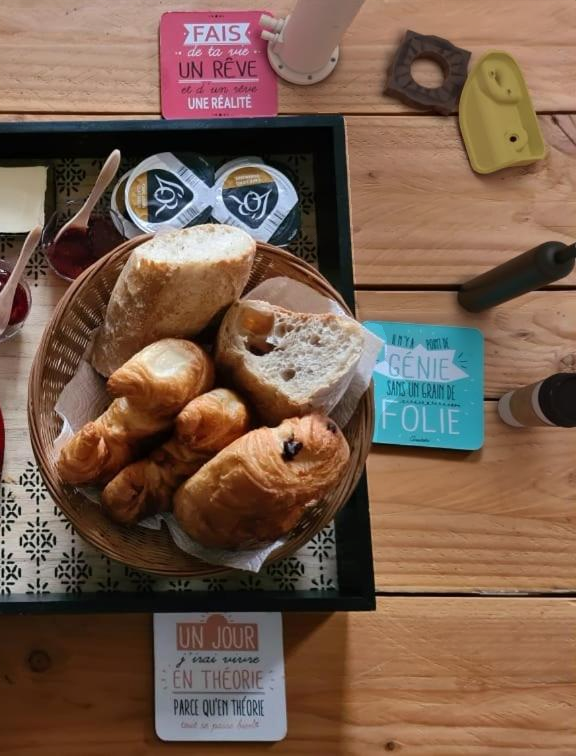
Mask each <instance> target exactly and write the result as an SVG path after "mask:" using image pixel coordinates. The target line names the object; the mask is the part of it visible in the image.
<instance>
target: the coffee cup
mask: <svg viewBox="0 0 576 756" xmlns="http://www.w3.org/2000/svg"><path fill="white" fill-rule="evenodd" d="M497 411H498V414H499V417H500V419H501V420H502V421H503V422H504V423H506V424H507V425H509V426H511V427H519V428H521V427H522V428H523V427H531V428H564V429H572V428H576V372H569V371H568V372H567V371H565V372H557V373H554V374H551V375H550V376H548V377H545V378H543V379H541V380H538V381H536V382H535V381H534V382H533V383H530V384H527V385H525V386H522V387H520V388H517V389H514V390H512V391H509V392H506V393H505V394H503V395H502V396H501V397H500V399H499V401H498V403H497Z"/></svg>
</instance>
